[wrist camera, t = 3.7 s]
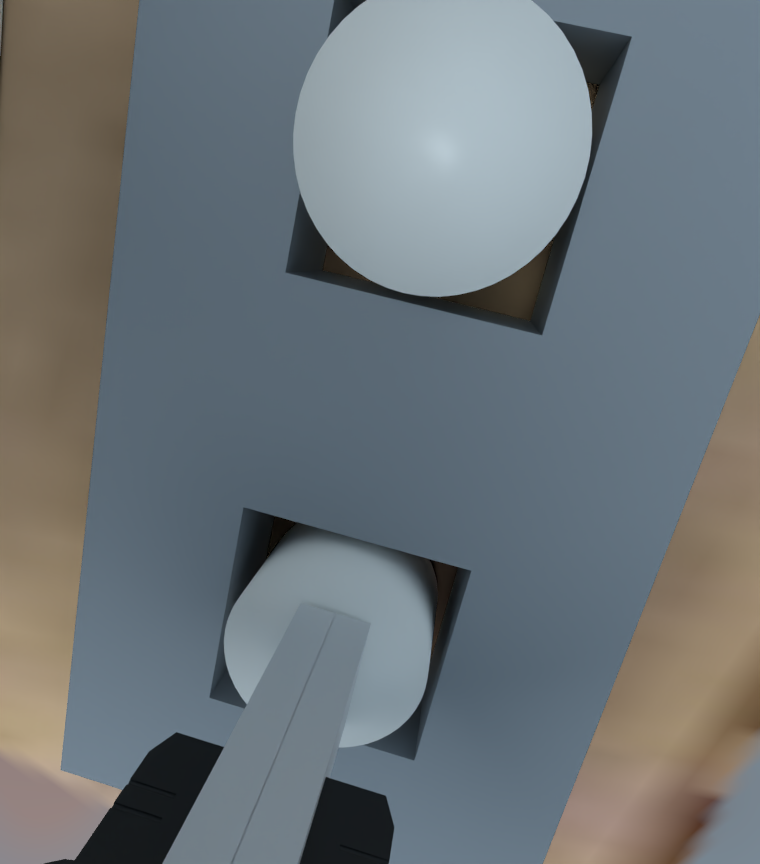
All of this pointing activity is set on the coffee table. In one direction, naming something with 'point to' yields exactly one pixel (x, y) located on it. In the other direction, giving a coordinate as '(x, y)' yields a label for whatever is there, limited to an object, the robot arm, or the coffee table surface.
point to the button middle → (442, 140)
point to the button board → (410, 407)
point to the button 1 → (349, 596)
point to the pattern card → (0, 11)
